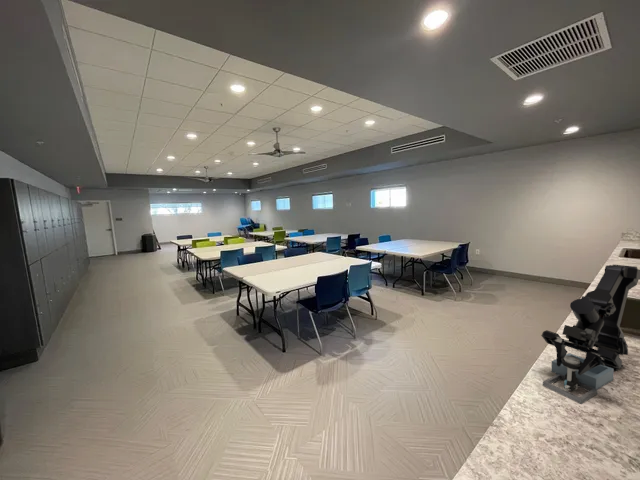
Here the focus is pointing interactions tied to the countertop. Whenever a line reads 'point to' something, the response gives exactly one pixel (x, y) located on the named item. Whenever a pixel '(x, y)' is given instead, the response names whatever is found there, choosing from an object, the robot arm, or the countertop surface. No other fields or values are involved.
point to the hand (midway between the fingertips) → (568, 369)
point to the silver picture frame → (578, 399)
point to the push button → (571, 372)
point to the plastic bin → (587, 373)
